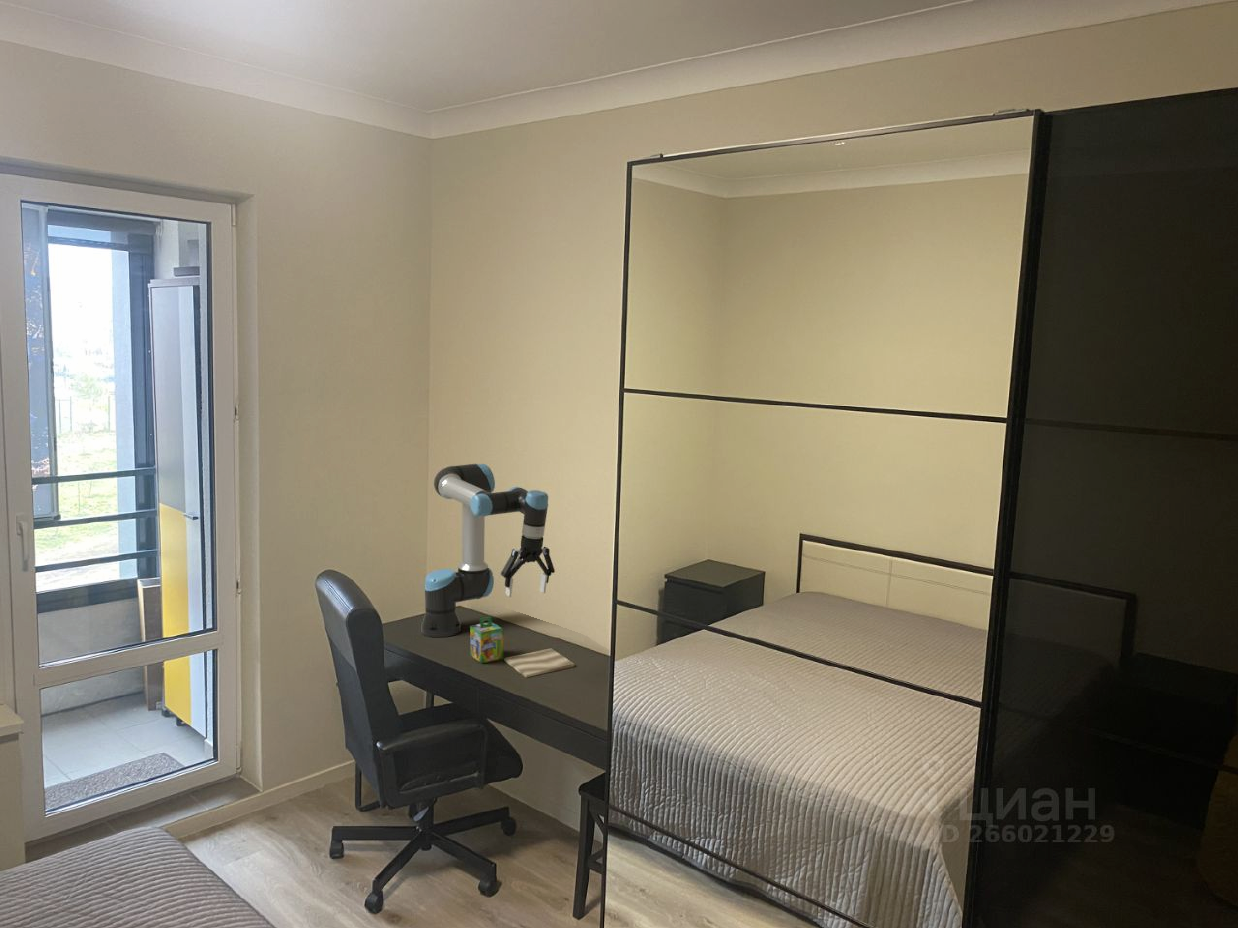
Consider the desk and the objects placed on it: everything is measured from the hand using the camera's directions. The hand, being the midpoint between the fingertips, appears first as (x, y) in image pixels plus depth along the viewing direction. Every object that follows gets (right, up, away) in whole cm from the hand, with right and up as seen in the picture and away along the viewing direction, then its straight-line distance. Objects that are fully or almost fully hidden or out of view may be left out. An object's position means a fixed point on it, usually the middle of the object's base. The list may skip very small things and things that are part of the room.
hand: (525, 593), depth 305 cm
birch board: (+4, -26, +5) cm, 26 cm away
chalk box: (-15, -25, +10) cm, 30 cm away
